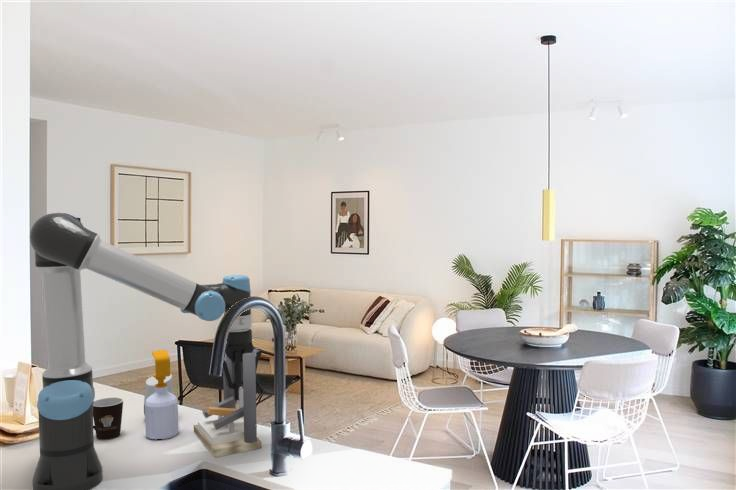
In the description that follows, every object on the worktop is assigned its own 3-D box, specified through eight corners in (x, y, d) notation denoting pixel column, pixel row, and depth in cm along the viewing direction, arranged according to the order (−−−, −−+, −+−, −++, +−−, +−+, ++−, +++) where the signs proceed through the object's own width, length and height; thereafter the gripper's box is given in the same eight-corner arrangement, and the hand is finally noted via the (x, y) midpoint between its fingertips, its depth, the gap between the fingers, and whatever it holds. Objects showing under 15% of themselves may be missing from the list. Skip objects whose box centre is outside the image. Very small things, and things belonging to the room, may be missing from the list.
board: (214, 457, 162) (214, 449, 162) (193, 431, 181) (193, 425, 181) (261, 447, 168) (261, 440, 168) (236, 424, 187) (236, 417, 187)
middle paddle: (209, 414, 171) (210, 408, 171) (206, 412, 173) (208, 406, 173) (243, 417, 176) (244, 411, 176) (240, 414, 178) (241, 409, 178)
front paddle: (216, 429, 166) (214, 424, 166) (214, 427, 168) (212, 422, 168) (250, 412, 171) (248, 407, 170) (247, 410, 173) (245, 405, 173)
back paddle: (206, 418, 176) (204, 413, 175) (203, 415, 178) (202, 411, 178) (238, 402, 180) (236, 397, 180) (235, 400, 182) (233, 395, 182)
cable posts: (246, 443, 166) (244, 356, 165) (222, 419, 185) (221, 341, 184) (258, 441, 168) (257, 354, 166) (233, 417, 187) (232, 340, 186)
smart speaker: (137, 421, 191) (136, 377, 190) (161, 413, 199) (160, 370, 198) (158, 426, 186) (156, 381, 185) (181, 418, 194) (180, 374, 193)
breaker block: (212, 445, 165) (211, 427, 165) (198, 428, 178) (197, 411, 178) (255, 437, 171) (254, 419, 171) (238, 421, 184) (238, 405, 184)
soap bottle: (173, 427, 185) (171, 346, 184) (182, 436, 178) (180, 352, 176) (142, 433, 180) (140, 350, 179) (150, 442, 173) (147, 356, 171)
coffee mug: (129, 430, 182) (128, 397, 182) (115, 441, 174) (113, 406, 173) (92, 429, 183) (91, 396, 183) (76, 440, 175) (74, 406, 174)
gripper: (219, 334, 169) (222, 418, 170) (264, 328, 175) (267, 409, 176) (212, 329, 175) (215, 411, 176) (255, 324, 181) (258, 403, 183)
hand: (241, 410), depth 176 cm, fingers closed
